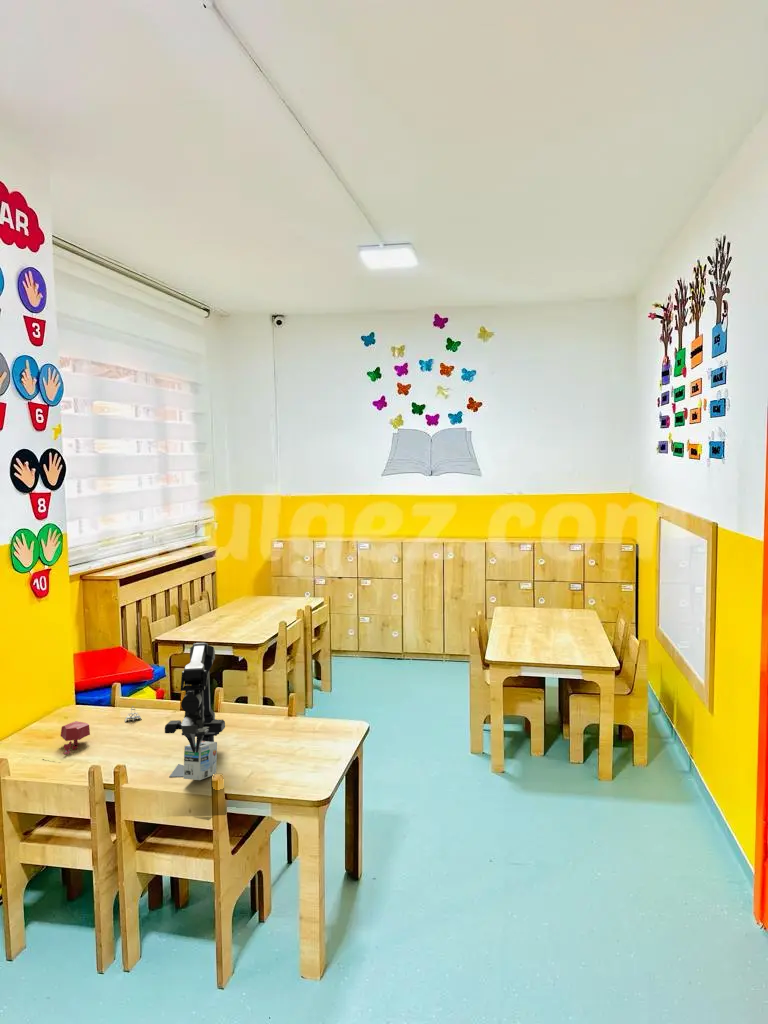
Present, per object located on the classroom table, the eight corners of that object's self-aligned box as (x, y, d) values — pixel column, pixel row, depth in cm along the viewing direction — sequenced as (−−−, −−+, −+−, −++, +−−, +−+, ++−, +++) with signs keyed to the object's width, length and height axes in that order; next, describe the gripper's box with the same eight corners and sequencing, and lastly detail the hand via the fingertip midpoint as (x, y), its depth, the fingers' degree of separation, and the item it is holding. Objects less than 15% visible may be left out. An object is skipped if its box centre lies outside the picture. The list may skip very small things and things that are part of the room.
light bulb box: (200, 780, 243) (201, 747, 245) (182, 779, 245) (183, 745, 247) (217, 773, 253) (217, 741, 255) (199, 772, 256) (200, 740, 257)
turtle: (105, 745, 284) (104, 722, 284) (63, 764, 266) (62, 740, 265) (76, 740, 290) (75, 717, 290) (33, 758, 272) (33, 734, 271)
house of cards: (145, 717, 316) (144, 699, 316) (147, 723, 308) (146, 705, 308) (123, 720, 313) (122, 702, 312) (124, 726, 304) (123, 708, 304)
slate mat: (178, 765, 263) (178, 763, 263) (234, 764, 263) (234, 763, 263) (169, 777, 252) (169, 776, 252) (227, 777, 252) (227, 776, 252)
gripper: (158, 712, 236) (159, 761, 236) (216, 711, 236) (218, 759, 236) (169, 703, 247) (170, 749, 247) (224, 702, 247) (225, 748, 247)
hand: (195, 752), depth 244 cm, fingers closed
